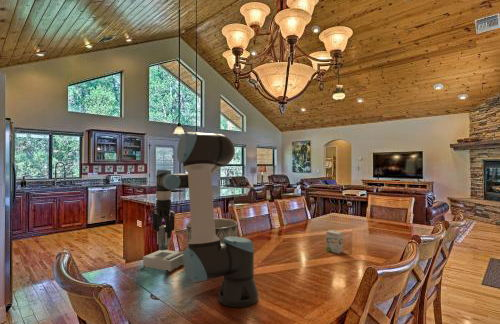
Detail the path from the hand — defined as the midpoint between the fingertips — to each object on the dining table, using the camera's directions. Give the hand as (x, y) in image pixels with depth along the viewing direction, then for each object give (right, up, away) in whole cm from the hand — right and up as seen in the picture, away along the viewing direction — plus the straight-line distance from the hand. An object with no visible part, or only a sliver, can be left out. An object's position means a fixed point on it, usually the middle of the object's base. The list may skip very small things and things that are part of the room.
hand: (163, 243), depth 148 cm
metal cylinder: (0, -3, 0) cm, 3 cm away
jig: (+2, -10, -1) cm, 11 cm away
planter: (+26, -11, -3) cm, 28 cm away
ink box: (+96, -11, +22) cm, 99 cm away
